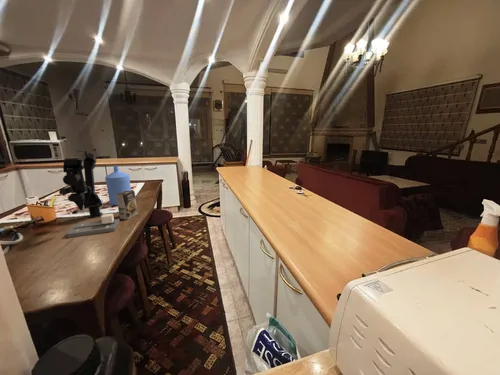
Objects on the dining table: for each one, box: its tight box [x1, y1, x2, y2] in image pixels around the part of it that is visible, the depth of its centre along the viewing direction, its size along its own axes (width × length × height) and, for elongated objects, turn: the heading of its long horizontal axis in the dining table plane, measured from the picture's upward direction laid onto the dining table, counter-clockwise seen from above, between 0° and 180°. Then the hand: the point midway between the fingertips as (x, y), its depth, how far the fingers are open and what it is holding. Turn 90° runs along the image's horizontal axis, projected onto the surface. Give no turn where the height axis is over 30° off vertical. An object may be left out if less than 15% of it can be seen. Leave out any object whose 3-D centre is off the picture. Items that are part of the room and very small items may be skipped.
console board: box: [65, 218, 120, 238], centre depth 123 cm, size 13×22×2 cm, turn 110°
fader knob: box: [100, 213, 115, 224], centre depth 125 cm, size 4×5×5 cm
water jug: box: [104, 165, 132, 206], centre depth 164 cm, size 16×16×28 cm
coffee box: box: [116, 190, 138, 220], centre depth 139 cm, size 9×6×16 cm
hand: (83, 207), depth 124 cm, fingers open, 9 cm apart
